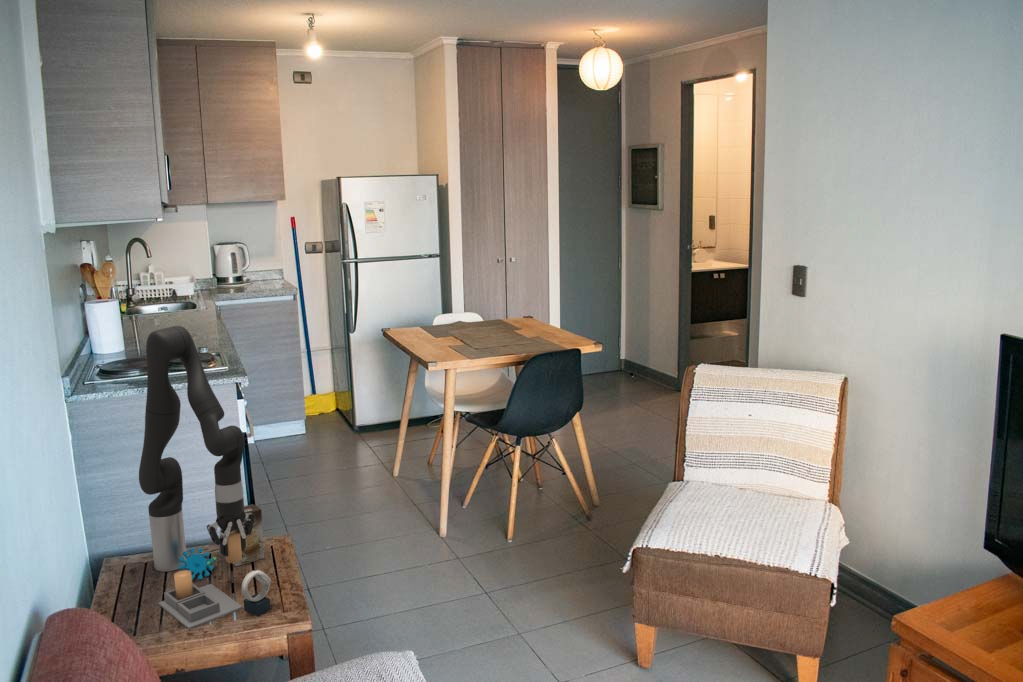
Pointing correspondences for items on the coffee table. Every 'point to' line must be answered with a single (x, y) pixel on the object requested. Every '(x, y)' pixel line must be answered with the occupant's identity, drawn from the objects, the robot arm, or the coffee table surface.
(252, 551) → the coffee box
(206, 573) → the blue knobbed wheel
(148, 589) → the coffee table surface
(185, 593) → the housing
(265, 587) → the watch
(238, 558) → the orange peg
